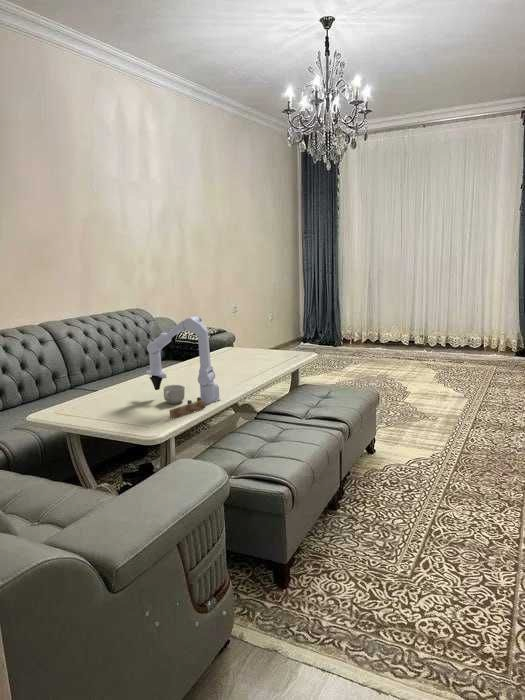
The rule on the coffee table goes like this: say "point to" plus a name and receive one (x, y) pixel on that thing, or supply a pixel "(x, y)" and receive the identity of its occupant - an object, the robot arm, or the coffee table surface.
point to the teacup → (174, 393)
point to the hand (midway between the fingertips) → (157, 389)
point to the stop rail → (187, 408)
